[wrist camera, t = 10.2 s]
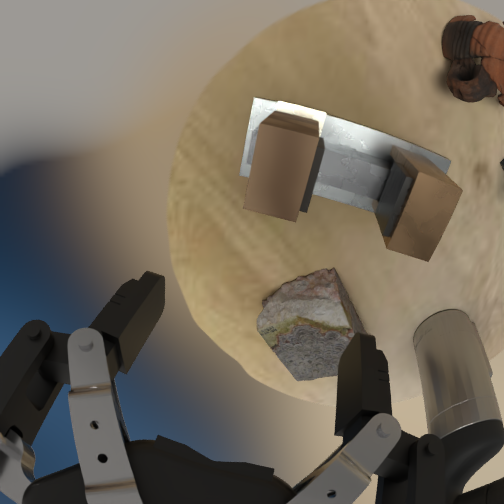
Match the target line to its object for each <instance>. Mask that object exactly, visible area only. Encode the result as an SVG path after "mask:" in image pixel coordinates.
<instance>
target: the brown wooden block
mask: <svg viewBox="0 0 504 504" xmlns="http://www.w3.org/2000/svg"><path fill="white" fill-rule="evenodd" d="M324 151H325V144H324V138H322V137H319V122H318V121H316V120H312V119H308V118H304V117H301V116H297V115H292V114H288V113H284V112H280V111H274V112H273V113H271V114H270V115H269V116H268V117H267V118H265V119H264V120H263V121H262V122H261V123H260V124H259V129H258V134H257V139H256V144H255V149H254V154H253V159H252V164H251V170H250V175H249V180H248V185H247V190H246V195H245V201H244V206H243V209H246V210H250V211H254V212H258V213H262V214H266V215H270V216H273V217H277V218H281V219H285V220H289V221H292V222H296V220H297V217H298V213H299V211H302V212H306V213H307V210H308V207H309V203H310V200H311V197H312V193H313V190H314V186H315V183H316V179H317V176H318V172H319V169H320V165H321V162H322V158H323V155H324Z"/></svg>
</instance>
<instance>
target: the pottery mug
mask: <svg viewBox="0 0 504 504" xmlns="http://www.w3.org/2000/svg"><path fill="white" fill-rule="evenodd" d="M474 20H476V18H475V17H474V16H472V15H466V16H457V17H455V18H453V19H452V20H451V21H450V22H449V23H448V25H447V27H446V29H445V31H444V35H443V40H442V45H443V55H444V57H446V58H449V59H450V60H452V61H453V62H452V64H451V69H450V71H449V72H448V75H447V84H448V87H449V89H450V91H451V92H452V93H453V95H454V96H455V97H456V98H458V99H460V100H462V101H465V102H477V101H480V100H482V99H483V98H484V97H494V96H495V95H496V93H497V89H498V90H499V91H500V92H501V93H502V94H500V95H498V99H499V100H500V101H499V103H500V104H501V105H503V106H504V28H503V27H501V26H500V25H499V24H498V23H494V22H491V21H488V22H486V23H484V24H483V23H482V22H479V21H474ZM503 24H504V21H503ZM475 57H481V58H482V59H481V65H476V64H475V62H474V61H473V58H475Z"/></svg>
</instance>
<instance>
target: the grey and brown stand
mask: <svg viewBox="0 0 504 504" xmlns="http://www.w3.org/2000/svg"><path fill="white" fill-rule="evenodd" d="M274 111H280V112H284V113H288V114H292V115H297V116H301V117H304V118H308V119H312V120H316V121H318V122H319V137H322V138H324V144H325V151H324V155H323V158H322V162H321V165H320V169H319V172H318V176H317V179H316V183H315V186H314V190H313V193H312V194H314V195H318V196H321V197H325V198H328V199H331V200H335V201H338V202H342V203H345V204H348V205H352V206H355V207H358V208H361V209H365V210H368V211H371V212H374V213H375V215H376V218H377V221H378V224H379V227H380V230H381V233H382V236H383V239H384V242H385V245H386V248H387V249H389V250H392V251H396V252H399V253H402V254H405V255H409V256H412V257H415V258H418V259H421V260H424V261H427V262H429V260H430V258H431V256H432V254H433V252H434V250H435V249H436V247H437V245H438V243H439V241H440V239H441V237H442V235H443V233H444V231H445V229H446V227H447V225H448V223H449V220H450V218H451V216H452V214H453V212H454V210H455V207H456V205H457V203H458V201H459V198H460V196H461V194H462V191H463V190H462V189H461V188H460V187H459V186H458V185H457V184H456V183H455V182H454V181H452V180H451V179H450V178H449V177H448V176H447V175H446V173H447V171H448V168H449V166H450V163H451V161H450V160H449V159H448V158H445V157H443V156H441V155H439V154H436V153H434V152H432V151H430V150H427V149H425V148H423V147H420V146H418V145H415V144H413V143H410V142H408V141H405V140H403V139H400V138H398V137H395V136H392V135H390V134H387V133H384V132H381V131H378V130H376V129H373V128H370V127H367V126H364V125H361V124H358V123H355V122H352V121H348V120H345V119H342V118H339V117H335V116H332V115H328V114H326V112H322V111H319V110H315V109H311V108H307V107H303V106H299V105H295V104H291V103H287V102H283V101H279V102H277V101H273V100H268V99H263V98H258V97H254V100H253V105H252V110H251V116H250V121H249V126H248V131H247V136H246V142H245V147H244V152H243V158H242V163H241V169H240V174H239V175H240V176H245V177H249V175H250V170H251V164H252V159H253V154H254V149H255V144H256V139H257V134H258V129H259V124H260V123H261V122H262V121H263V120H264V119H265V118H267V117H268V116H269V115H270V114H271V113H273V112H274Z"/></svg>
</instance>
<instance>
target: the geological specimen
mask: <svg viewBox="0 0 504 504" xmlns="http://www.w3.org/2000/svg"><path fill="white" fill-rule="evenodd" d="M262 304H263V307H264V309H263V311H262V312H261V313H260V315H259V316H258V318H257V331H258V332H259V334H260V335H261V336H262V338H263V339H264V340H265V342H266V343H267V344H268V345H269V347H270V348H271V349H272V351H273V352H275V353H276V355H277V357H278V358H279V359H280V360H281V362H282V363H283V364H284V365H285V367H286V368H287V369H288V370H289V372H290V373H291V374H292V375H293V377H294V378H295V379H296V380H297V381H302V380H304V381H305V380H314V379H317V378H322V377H328V376H337V375H338V365H339V360H340V358H341V355H342V354H343V352H344V350H345V349H346V347H347V346H348V344H349V343H350V341H351V339H352V338H353V336H354V335H355V333H357V332H360V333H364V334H367V333H366V332H365V329H364V327H363V325H362V323H361V321H360V319H359V317H358V315H357V313H356V311H355V309H354V307H353V305H352V302H351V301H349V297H348V294H347V292H346V290H345V288H344V286H343V284H342V282H341V280H340V278H339V276H338V274H337V272H336V271H335V269H334V268H333V269H331V270H328V269H326V268H325V269H321V270H319V271H315V272H314V273H313V274H310V275H308V276H306V277H304V276H299V277H297V278H296V280H295V281H292V282H287V283H285V284H283V285H282V288H280V289H278V291H277V292H275V293H274V294H273V295H272V296H269V297H268V298H267V300H263V302H262Z"/></svg>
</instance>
